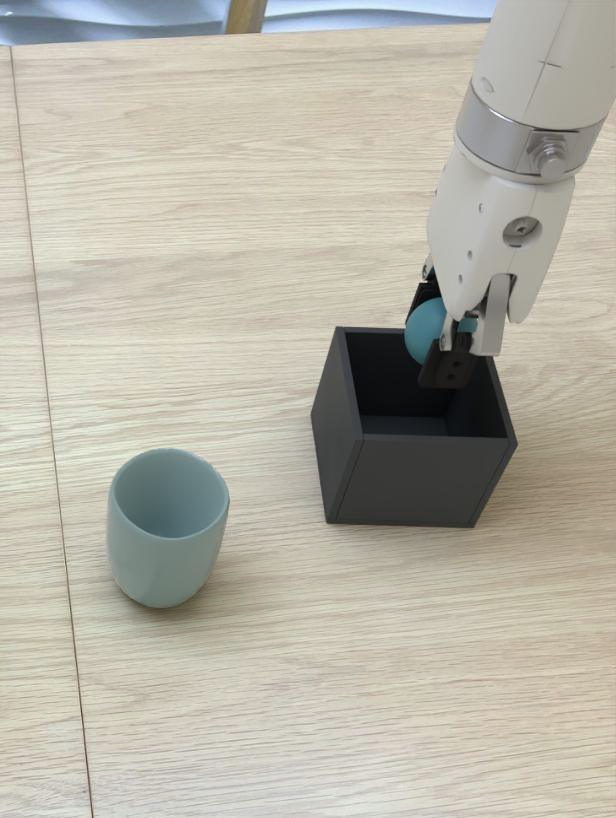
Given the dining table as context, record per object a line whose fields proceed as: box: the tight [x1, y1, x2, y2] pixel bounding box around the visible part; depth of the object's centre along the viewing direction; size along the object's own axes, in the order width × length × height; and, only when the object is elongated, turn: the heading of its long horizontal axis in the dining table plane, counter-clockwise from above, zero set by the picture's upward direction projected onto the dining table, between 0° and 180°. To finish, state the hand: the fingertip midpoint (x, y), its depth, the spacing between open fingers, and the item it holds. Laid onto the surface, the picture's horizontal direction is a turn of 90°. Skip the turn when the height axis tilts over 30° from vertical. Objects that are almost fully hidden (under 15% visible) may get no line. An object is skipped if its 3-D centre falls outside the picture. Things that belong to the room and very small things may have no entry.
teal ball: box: [404, 297, 478, 365], centre depth 74 cm, size 5×5×5 cm
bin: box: [310, 325, 519, 529], centre depth 82 cm, size 11×11×10 cm
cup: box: [105, 447, 231, 609], centre depth 75 cm, size 8×8×10 cm
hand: (434, 354), depth 76 cm, fingers closed on teal ball, 4 cm apart
